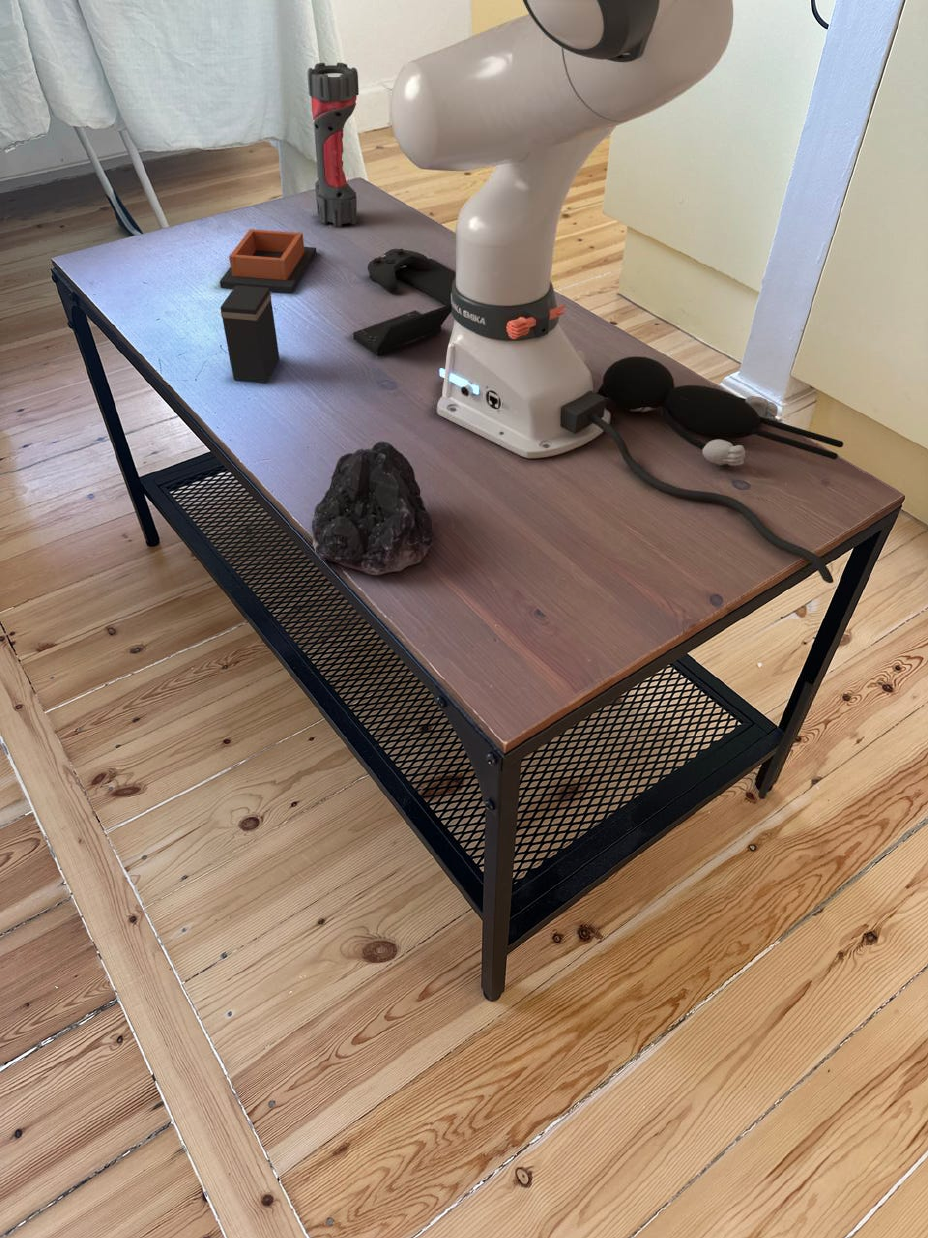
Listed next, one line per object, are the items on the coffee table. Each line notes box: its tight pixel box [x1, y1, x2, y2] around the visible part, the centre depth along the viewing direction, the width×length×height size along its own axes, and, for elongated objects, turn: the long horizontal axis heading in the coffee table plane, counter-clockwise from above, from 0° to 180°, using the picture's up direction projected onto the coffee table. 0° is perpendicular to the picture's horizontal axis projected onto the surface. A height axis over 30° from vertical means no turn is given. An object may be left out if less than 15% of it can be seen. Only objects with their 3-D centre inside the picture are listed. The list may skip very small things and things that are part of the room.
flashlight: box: [307, 61, 360, 228], centre depth 147 cm, size 8×8×23 cm
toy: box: [595, 355, 844, 467], centre depth 110 cm, size 13×8×30 cm
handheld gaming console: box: [352, 304, 452, 356], centre depth 125 cm, size 12×7×10 cm
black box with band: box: [219, 285, 281, 384], centre depth 118 cm, size 4×6×10 cm
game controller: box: [367, 248, 431, 293], centre depth 139 cm, size 10×5×6 cm
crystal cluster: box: [311, 441, 434, 576], centre depth 94 cm, size 13×14×10 cm
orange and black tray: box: [219, 228, 317, 294], centre depth 141 cm, size 11×14×4 cm
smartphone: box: [395, 258, 456, 306], centre depth 138 cm, size 7×1×15 cm
